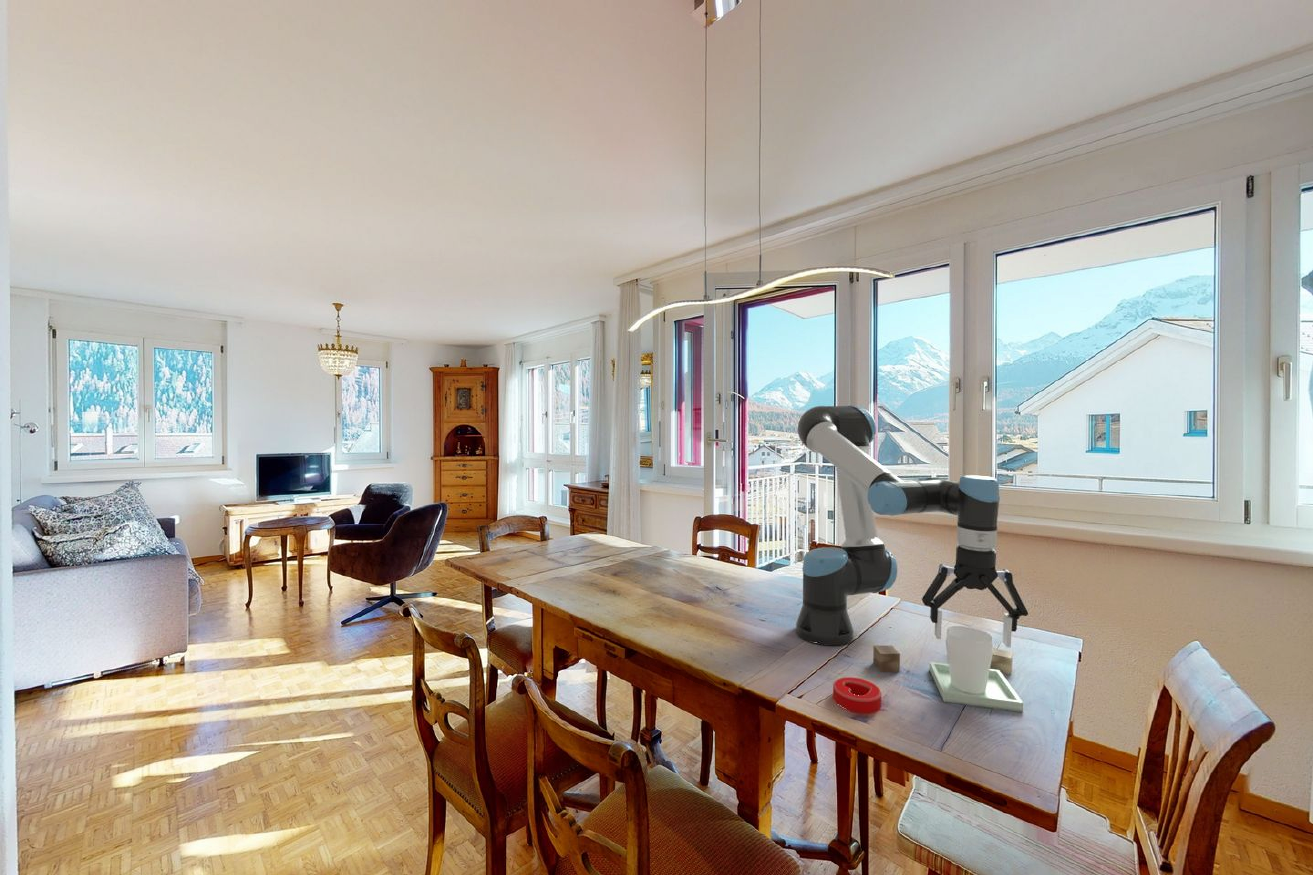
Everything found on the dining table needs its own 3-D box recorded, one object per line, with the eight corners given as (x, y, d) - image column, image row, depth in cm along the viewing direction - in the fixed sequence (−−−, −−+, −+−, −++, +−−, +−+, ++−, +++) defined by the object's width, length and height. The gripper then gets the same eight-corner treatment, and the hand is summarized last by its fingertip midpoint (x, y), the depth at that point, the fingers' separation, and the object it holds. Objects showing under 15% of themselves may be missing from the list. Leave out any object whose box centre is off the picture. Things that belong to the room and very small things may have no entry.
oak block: (986, 668, 128) (986, 652, 128) (987, 662, 131) (988, 646, 131) (1010, 675, 125) (1011, 658, 125) (1012, 668, 128) (1012, 652, 128)
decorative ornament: (891, 707, 112) (891, 692, 112) (858, 719, 107) (858, 703, 107) (855, 686, 120) (855, 672, 120) (823, 696, 116) (823, 682, 116)
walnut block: (880, 672, 127) (880, 653, 126) (873, 663, 131) (873, 645, 131) (899, 672, 127) (900, 653, 126) (891, 663, 131) (892, 645, 131)
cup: (999, 699, 113) (1000, 644, 113) (953, 695, 115) (954, 640, 114) (982, 678, 122) (983, 627, 122) (939, 675, 124) (940, 624, 123)
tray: (943, 701, 113) (943, 692, 113) (929, 670, 127) (929, 661, 127) (1022, 712, 109) (1023, 702, 109) (999, 678, 123) (999, 669, 123)
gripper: (916, 546, 117) (913, 640, 118) (1049, 556, 110) (1043, 656, 111) (910, 537, 124) (907, 626, 125) (1035, 546, 117) (1029, 640, 118)
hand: (971, 640), depth 118 cm, fingers open, 13 cm apart
